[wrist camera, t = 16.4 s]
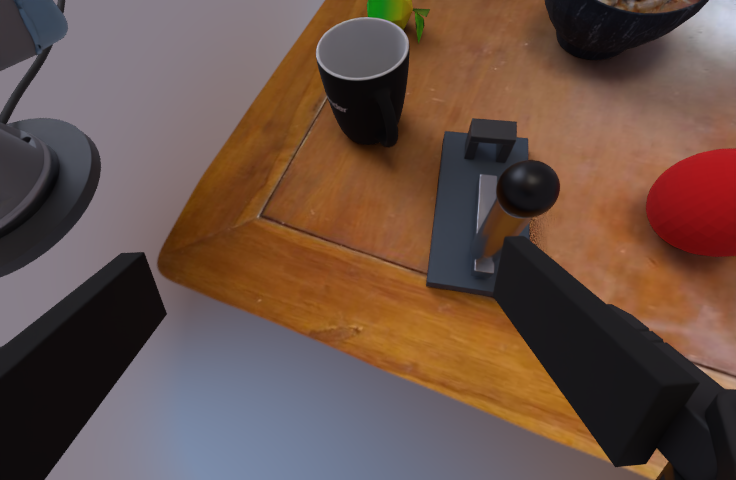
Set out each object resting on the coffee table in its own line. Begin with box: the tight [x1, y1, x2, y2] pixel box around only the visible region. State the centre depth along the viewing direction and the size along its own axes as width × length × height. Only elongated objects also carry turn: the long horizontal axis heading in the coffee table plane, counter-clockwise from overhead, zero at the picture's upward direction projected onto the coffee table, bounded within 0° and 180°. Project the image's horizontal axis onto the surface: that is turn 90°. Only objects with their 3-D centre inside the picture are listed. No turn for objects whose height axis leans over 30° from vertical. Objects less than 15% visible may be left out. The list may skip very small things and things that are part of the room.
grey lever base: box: [426, 118, 530, 297], centre depth 31 cm, size 18×9×5 cm, turn 169°
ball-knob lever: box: [470, 160, 560, 279], centre depth 24 cm, size 10×3×13 cm, turn 169°
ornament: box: [646, 149, 736, 257], centre depth 26 cm, size 9×9×10 cm
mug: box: [316, 17, 409, 147], centre depth 34 cm, size 12×9×10 cm
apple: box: [367, 0, 430, 44], centre depth 44 cm, size 7×6×9 cm
